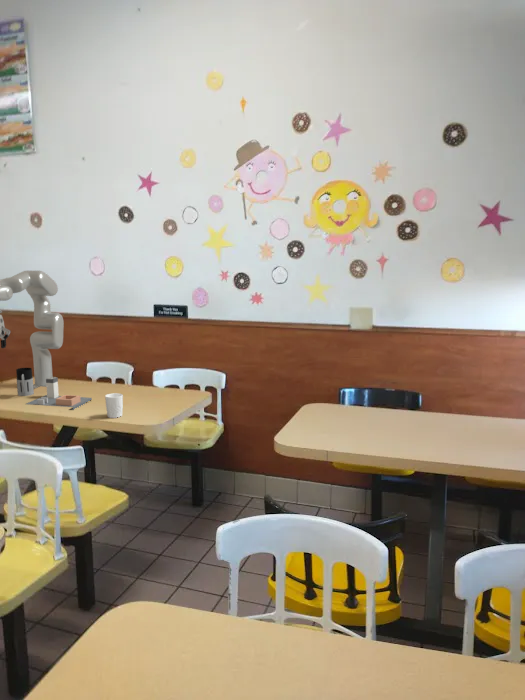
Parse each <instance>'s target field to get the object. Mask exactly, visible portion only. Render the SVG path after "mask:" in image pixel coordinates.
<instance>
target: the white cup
mask: <svg viewBox="0 0 525 700" xmlns="http://www.w3.org/2000/svg"><path fill="white" fill-rule="evenodd" d="M104 397H105V408H106V416H107V418H110V419H118V418H121V417H123V409H124V408H123V405H124V395H123V394H122V393H119V392H118V393H117V392H115V393H107V394H105V395H104ZM120 416H121V417H120ZM117 417H118V418H117Z"/></svg>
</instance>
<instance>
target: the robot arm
mask: <svg viewBox="0 0 525 700" xmlns="http://www.w3.org/2000/svg"><path fill="white" fill-rule="evenodd" d="M58 287H59V286H58V284H57V283H56V281H55V280H54V279H53V278H52V277H50V276H49V275H48V273H47V272H44V271H42V270H23V271H21V272H18V273H17V274H15V275H13V276H10V277H6V278H2V279H0V302H1V301H2V302H3V301H8V300H10V299H12V297H13V294H17V293H18V294H19V293H21V292H22V291H24V290H26V292H27V294H28V295H29V296H30V298H31V299H32V302H33V327H34V328H36V329H38V330H51V331H35V332H33V333H32V334H30V337H29V343H30V346H31V351H32V360H33V370H34V371H33V372H34V373H33V374H34V375H33V376H34V383H33V389H34V390H35V389H37V388H40V387H42V388H43V387H46V388H47V386H46V379H47V378H50V377H55V378H57V377H56V376H53V364H52V360H53V359H52V354H51V351H50V350H59V349H60V348H61V347H62V346H63V343H64V328H65V327H64V325H65V324H64V322H65V321H64V318H63V315H62V314H61V313H59V312H52V311H51V302H50V300H49V298H48V297H54V296H56V295H57V293H58V291H59V290H58V289H59V288H58ZM2 313H3V310H2V309H0V339H1V340H0V348H1V349H5V348H6V347H7V339H8V338H9V337H10V334H11V332H12V331H11V330H10V329H8V328H7V327H6V326H5V321H4V318H3V315H2Z"/></svg>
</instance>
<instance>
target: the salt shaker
mask: <svg viewBox="0 0 525 700" xmlns="http://www.w3.org/2000/svg"><path fill="white" fill-rule="evenodd" d="M55 377H56V376H53V377H50V378H47V379H46V386H47V387H46V395H47V398H56V397H58V396H60V394H59V378H58V377H56V378H55Z"/></svg>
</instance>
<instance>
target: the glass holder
mask: <svg viewBox="0 0 525 700" xmlns="http://www.w3.org/2000/svg"><path fill="white" fill-rule="evenodd" d="M15 371H16V388H17V391H16V392H17V396H18V397H28V396H33V395H34V390H35V389H34V388H33V385H34V379H33V369H32V367H20V368H16V369H15Z"/></svg>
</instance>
